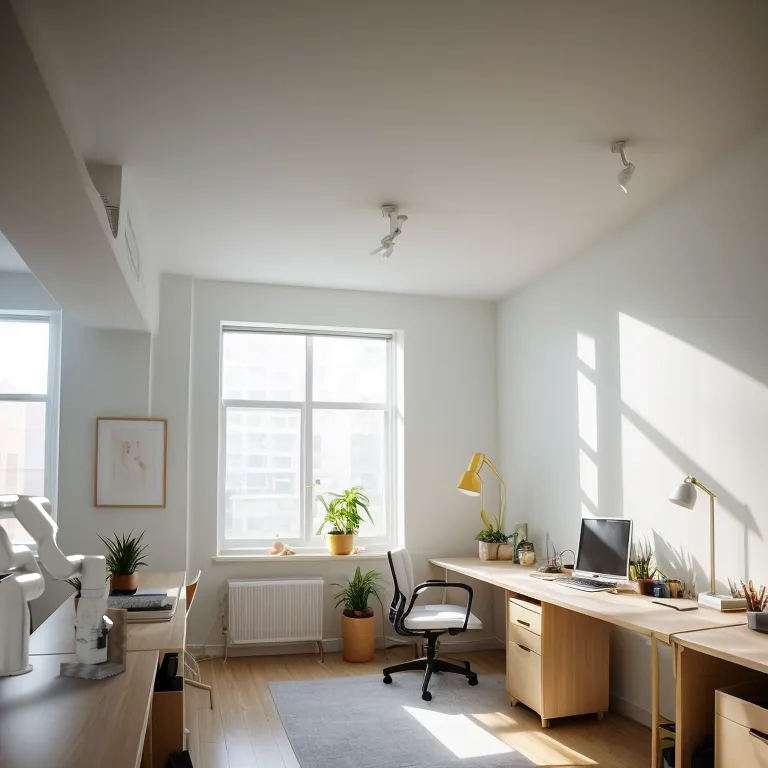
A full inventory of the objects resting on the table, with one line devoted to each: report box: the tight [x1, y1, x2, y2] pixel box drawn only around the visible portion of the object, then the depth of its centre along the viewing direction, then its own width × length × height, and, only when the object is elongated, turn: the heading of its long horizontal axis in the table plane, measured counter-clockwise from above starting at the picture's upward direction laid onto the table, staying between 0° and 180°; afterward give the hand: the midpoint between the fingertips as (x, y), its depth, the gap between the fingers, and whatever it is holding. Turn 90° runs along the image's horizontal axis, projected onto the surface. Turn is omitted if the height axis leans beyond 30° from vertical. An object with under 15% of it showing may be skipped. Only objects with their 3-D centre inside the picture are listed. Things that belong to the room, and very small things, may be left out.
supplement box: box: [74, 622, 107, 665], centre depth 252 cm, size 7×7×13 cm
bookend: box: [59, 607, 128, 680], centre depth 253 cm, size 17×12×20 cm
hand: (91, 647), depth 252 cm, fingers closed on supplement box, 8 cm apart
